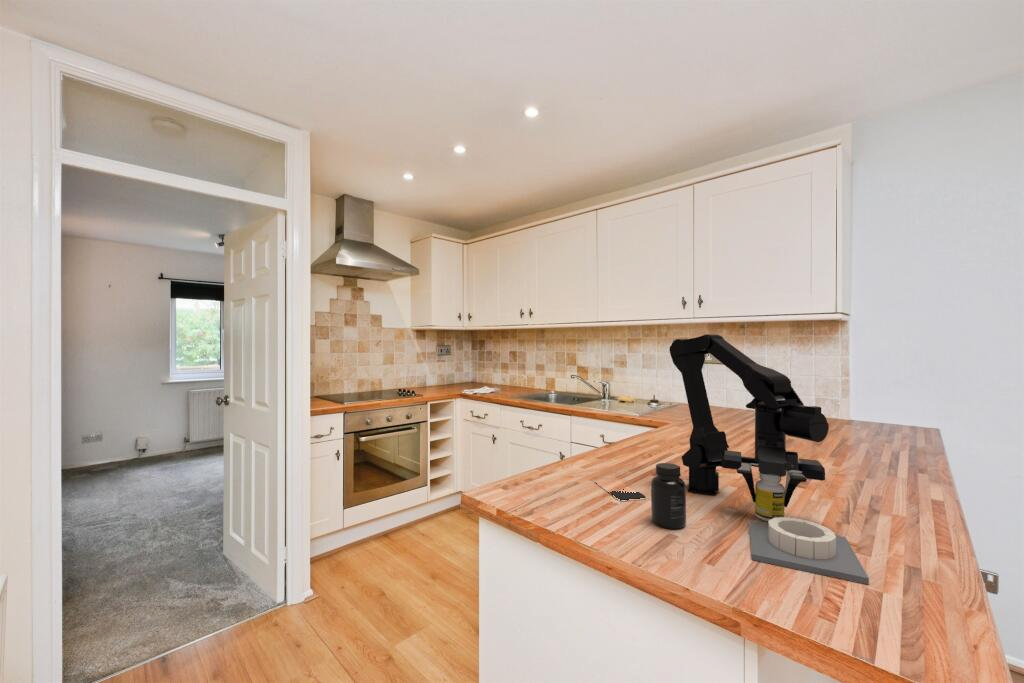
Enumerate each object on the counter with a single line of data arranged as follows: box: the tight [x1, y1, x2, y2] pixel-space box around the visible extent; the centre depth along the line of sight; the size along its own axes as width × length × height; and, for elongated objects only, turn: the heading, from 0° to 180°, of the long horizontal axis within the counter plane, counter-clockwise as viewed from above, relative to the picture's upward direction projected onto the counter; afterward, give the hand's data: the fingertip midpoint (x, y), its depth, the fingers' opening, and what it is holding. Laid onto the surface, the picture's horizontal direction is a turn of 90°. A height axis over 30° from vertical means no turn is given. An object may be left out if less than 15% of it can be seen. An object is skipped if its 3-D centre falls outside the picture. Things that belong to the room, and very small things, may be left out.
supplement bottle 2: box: [754, 472, 785, 522], centre depth 92 cm, size 5×5×10 cm
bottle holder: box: [748, 516, 870, 585], centre depth 78 cm, size 16×16×4 cm
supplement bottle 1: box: [650, 462, 687, 530], centre depth 89 cm, size 7×7×12 cm
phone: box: [610, 489, 646, 500], centre depth 109 cm, size 7×1×15 cm
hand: (769, 504), depth 92 cm, fingers closed on supplement bottle 2, 5 cm apart
